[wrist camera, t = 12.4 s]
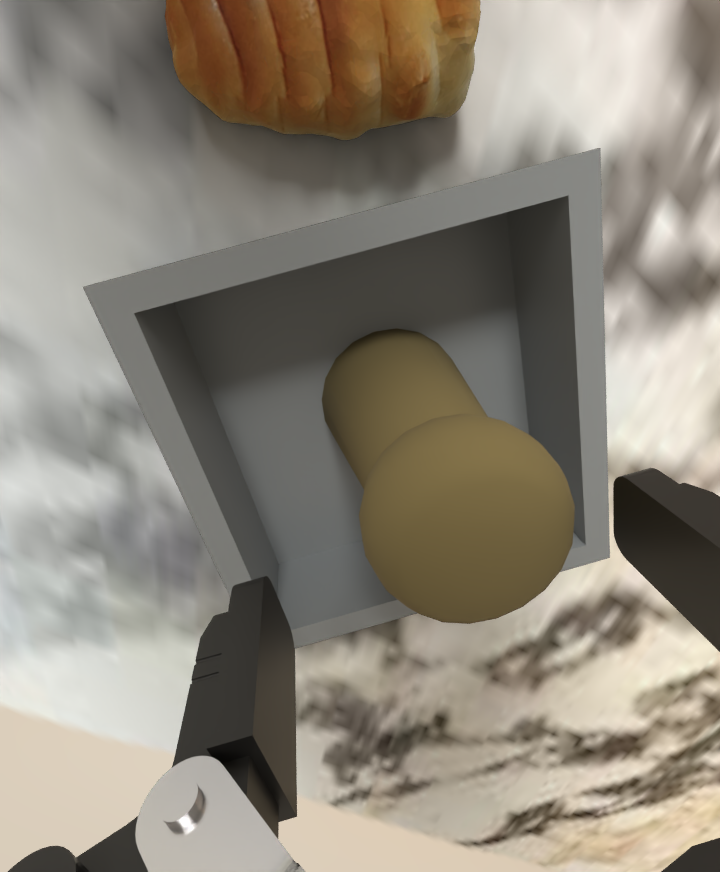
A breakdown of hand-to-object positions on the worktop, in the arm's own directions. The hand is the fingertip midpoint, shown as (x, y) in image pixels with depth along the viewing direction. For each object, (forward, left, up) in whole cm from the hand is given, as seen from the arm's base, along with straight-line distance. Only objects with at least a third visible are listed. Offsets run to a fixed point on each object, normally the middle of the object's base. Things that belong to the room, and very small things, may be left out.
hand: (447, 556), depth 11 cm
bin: (0, 0, -11) cm, 11 cm away
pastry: (-13, +2, -12) cm, 17 cm away
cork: (0, +1, -11) cm, 11 cm away
